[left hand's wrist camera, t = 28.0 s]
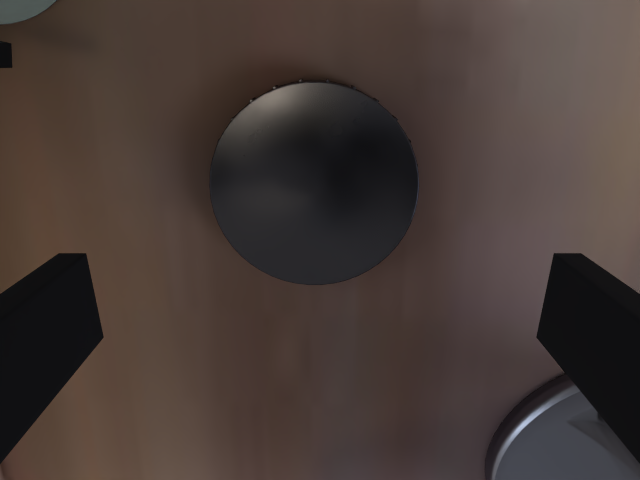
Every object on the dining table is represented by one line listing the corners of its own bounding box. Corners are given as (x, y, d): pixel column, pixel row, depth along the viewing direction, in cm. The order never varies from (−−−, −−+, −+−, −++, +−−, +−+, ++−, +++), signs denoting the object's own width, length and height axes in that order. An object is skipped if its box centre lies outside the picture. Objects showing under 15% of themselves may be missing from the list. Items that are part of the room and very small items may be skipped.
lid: (174, 174, 21) (163, 184, 20) (324, 29, 19) (325, 26, 17) (306, 303, 24) (306, 320, 22) (451, 190, 21) (462, 201, 20)
